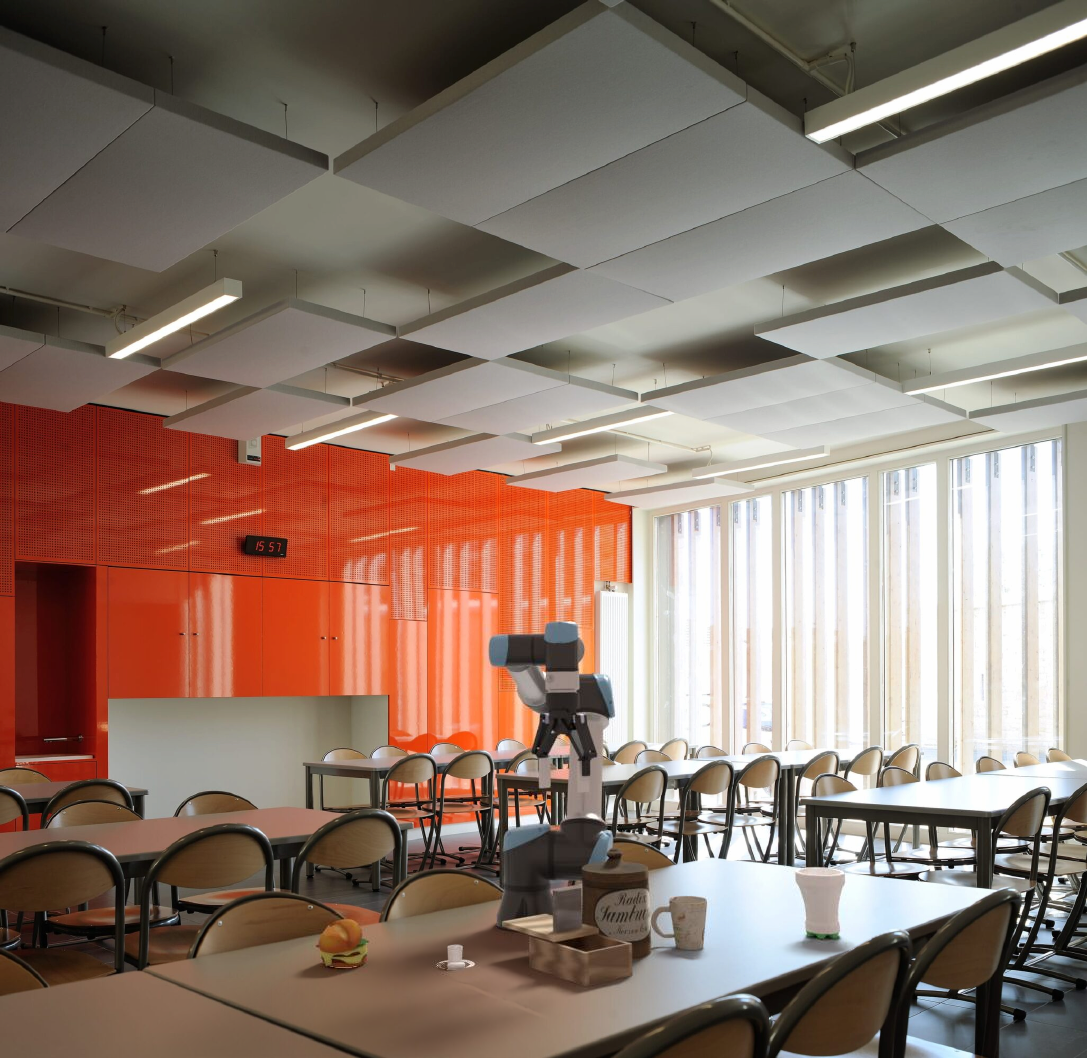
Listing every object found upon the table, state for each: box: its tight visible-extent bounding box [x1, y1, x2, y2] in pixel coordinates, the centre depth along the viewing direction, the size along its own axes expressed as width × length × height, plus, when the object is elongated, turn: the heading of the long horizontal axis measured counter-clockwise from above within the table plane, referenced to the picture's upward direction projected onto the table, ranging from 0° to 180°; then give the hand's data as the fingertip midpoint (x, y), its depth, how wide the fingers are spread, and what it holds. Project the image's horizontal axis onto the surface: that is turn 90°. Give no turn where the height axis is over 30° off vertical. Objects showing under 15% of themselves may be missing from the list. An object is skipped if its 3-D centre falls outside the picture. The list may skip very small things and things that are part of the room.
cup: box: [794, 866, 846, 940], centre depth 234 cm, size 11×11×14 cm
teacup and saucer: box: [436, 944, 476, 971], centre depth 212 cm, size 9×8×4 cm
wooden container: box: [581, 847, 652, 960], centre depth 221 cm, size 15×15×22 cm
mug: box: [650, 895, 708, 951], centre depth 226 cm, size 8×13×10 cm, turn 78°
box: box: [528, 934, 634, 987], centre depth 204 cm, size 18×12×6 cm, turn 38°
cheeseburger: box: [315, 918, 370, 967], centre depth 213 cm, size 10×11×10 cm
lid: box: [502, 886, 599, 942], centre depth 213 cm, size 18×12×9 cm, turn 38°
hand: (563, 790), depth 222 cm, fingers open, 13 cm apart
